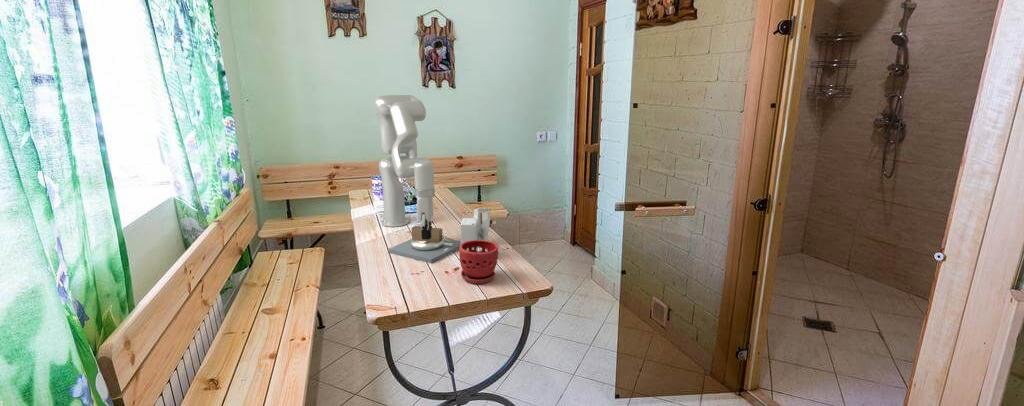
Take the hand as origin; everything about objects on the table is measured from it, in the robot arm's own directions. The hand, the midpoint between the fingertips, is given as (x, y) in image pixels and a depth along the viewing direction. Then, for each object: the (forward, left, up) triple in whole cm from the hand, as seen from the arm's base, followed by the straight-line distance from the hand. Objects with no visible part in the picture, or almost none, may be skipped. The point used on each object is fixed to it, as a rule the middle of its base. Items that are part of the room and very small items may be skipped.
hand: (427, 236), depth 188 cm
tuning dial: (+2, +1, -3) cm, 4 cm away
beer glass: (+16, +15, -5) cm, 23 cm away
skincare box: (+20, +1, -5) cm, 21 cm away
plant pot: (+34, -13, -5) cm, 37 cm away
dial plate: (0, 0, -5) cm, 5 cm away
